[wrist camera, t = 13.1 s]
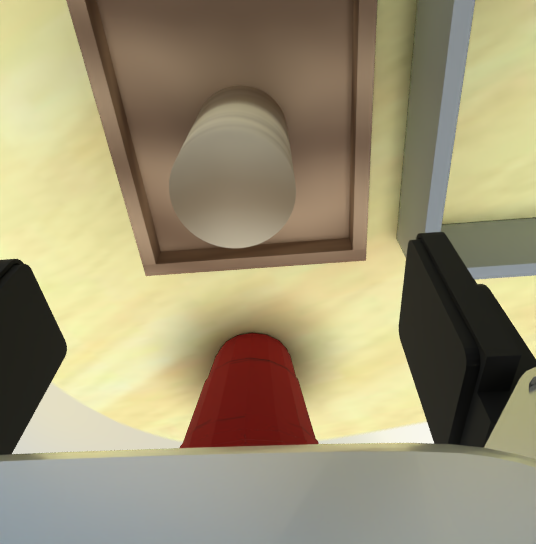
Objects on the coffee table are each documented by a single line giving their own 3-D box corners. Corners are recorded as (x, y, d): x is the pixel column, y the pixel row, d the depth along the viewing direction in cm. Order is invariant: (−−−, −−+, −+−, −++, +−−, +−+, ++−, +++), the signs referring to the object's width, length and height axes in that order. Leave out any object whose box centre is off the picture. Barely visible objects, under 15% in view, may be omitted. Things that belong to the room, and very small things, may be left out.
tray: (78, -25, 21) (59, -26, 19) (369, -56, 20) (380, -60, 18) (154, 256, 29) (146, 276, 27) (359, 241, 29) (365, 260, 27)
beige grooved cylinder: (188, 90, 23) (156, 135, 16) (284, 80, 22) (292, 123, 16) (204, 181, 25) (182, 252, 19) (290, 173, 25) (299, 243, 19)
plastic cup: (259, 423, 39) (256, 576, 29) (159, 363, 35) (115, 517, 25) (353, 358, 34) (387, 513, 24) (250, 281, 30) (242, 428, 20)
